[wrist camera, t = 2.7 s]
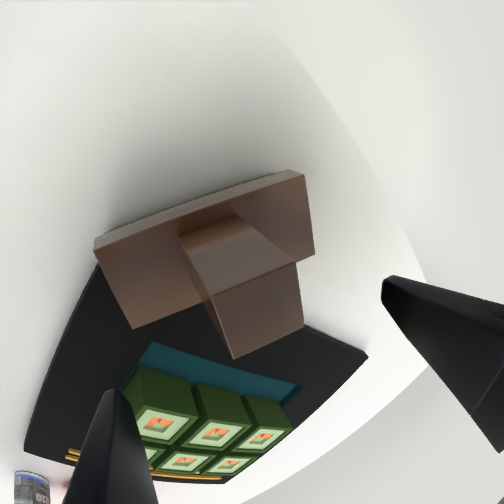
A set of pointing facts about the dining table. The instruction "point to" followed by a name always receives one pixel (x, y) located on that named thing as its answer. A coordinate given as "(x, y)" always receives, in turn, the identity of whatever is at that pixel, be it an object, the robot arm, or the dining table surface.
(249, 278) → the hand brush
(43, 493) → the pill bottle
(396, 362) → the dining table surface
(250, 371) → the sushi
